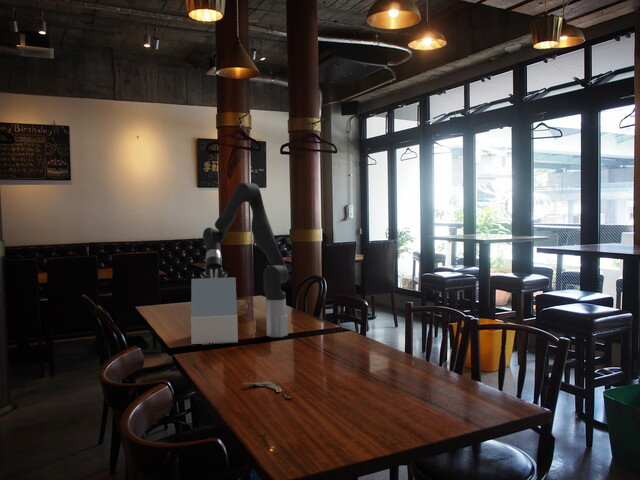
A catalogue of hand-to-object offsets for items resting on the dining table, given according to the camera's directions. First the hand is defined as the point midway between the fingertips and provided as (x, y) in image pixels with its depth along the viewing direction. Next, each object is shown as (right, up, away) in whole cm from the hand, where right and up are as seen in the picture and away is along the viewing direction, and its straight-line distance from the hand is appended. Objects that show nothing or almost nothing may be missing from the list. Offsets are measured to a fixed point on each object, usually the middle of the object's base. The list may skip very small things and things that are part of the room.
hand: (214, 289), depth 232 cm
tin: (+2, -20, +54) cm, 57 cm away
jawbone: (+32, -26, -73) cm, 84 cm away
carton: (+1, -22, -2) cm, 23 cm away
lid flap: (+2, -3, -8) cm, 8 cm away
